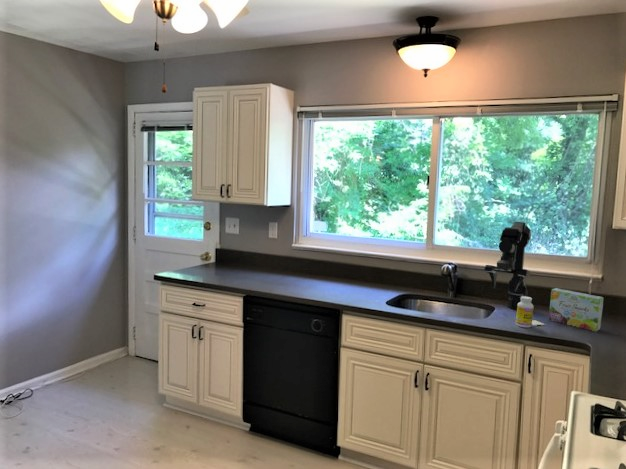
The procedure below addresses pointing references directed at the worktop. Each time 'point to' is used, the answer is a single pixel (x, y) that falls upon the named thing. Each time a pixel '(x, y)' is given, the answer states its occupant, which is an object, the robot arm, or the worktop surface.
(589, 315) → the snack box
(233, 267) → the worktop surface
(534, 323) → the cream tile
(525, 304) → the supplement bottle
